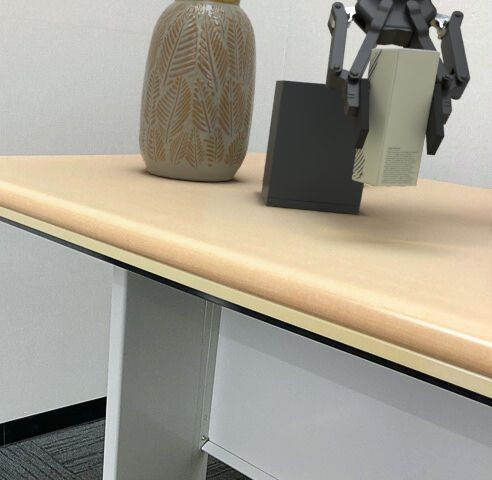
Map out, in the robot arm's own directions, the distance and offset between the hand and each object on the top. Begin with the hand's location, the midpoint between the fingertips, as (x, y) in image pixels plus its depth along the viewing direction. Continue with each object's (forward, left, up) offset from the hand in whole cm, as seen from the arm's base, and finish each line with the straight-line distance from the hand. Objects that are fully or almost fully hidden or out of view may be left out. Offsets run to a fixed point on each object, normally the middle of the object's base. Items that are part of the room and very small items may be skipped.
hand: (398, 142), depth 72 cm
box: (+3, -1, -5) cm, 6 cm away
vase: (+49, +8, -10) cm, 50 cm away
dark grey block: (+27, -3, -10) cm, 29 cm away
